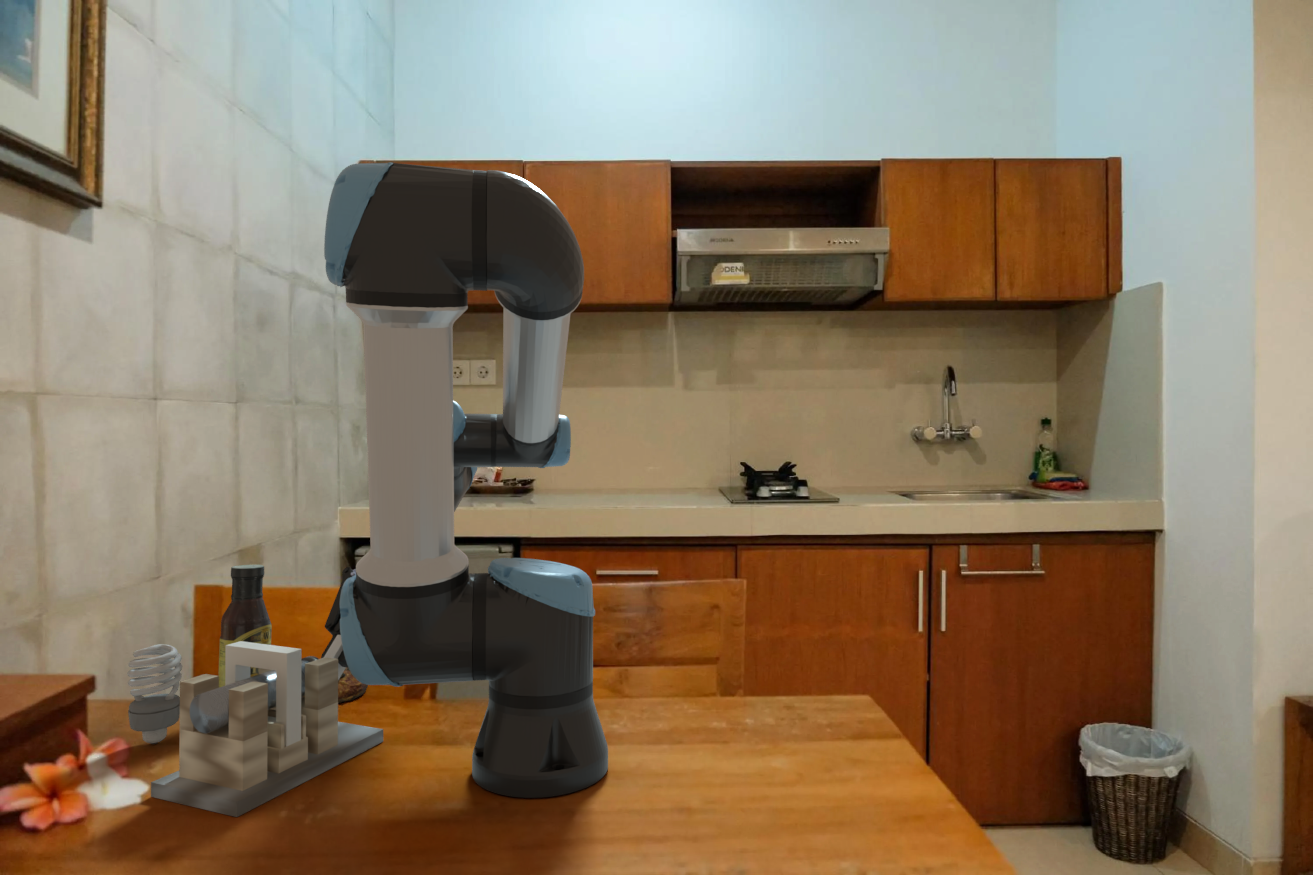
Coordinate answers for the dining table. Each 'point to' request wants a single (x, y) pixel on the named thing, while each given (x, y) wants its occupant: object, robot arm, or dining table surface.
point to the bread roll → (349, 687)
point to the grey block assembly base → (260, 745)
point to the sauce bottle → (244, 614)
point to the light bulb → (157, 708)
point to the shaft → (214, 704)
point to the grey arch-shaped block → (287, 679)
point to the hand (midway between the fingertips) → (319, 687)
